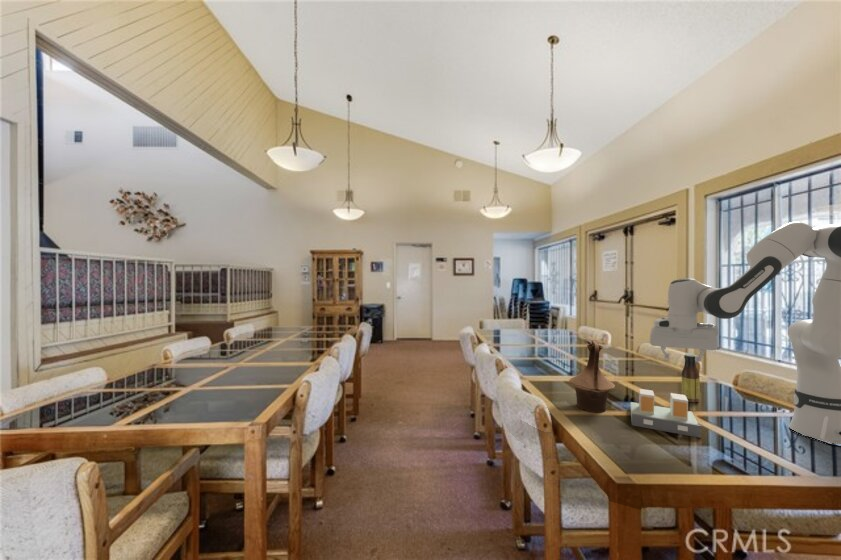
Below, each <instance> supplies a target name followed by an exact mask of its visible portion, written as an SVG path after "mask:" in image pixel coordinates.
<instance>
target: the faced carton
mask: <svg viewBox="0 0 841 560" xmlns="http://www.w3.org/2000/svg"><path fill="white" fill-rule="evenodd" d="M638 391H639V392H638V403H639V410H640V412H642V413H648V414H654V406H655V393H654V390H653V389H652V390H650V389H644V388H643V389H642V388H638Z"/></svg>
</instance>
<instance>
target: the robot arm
mask: <svg viewBox="0 0 841 560" xmlns="http://www.w3.org/2000/svg"><path fill="white" fill-rule="evenodd" d="M800 256H803V257H807V258H820V259H824V261H825V265H826V267H825V270H824V272H823V273H822V275H821V278H820V279H819V280H820V281H819V282H818V284H817V287H816V289H815V293H814V295H813V297H812V300H811V301H812V305H813V315H812V316H813V317H812V319H810V318H809V319H802V320H797V321H794V322H792V323H791V324H790V325H789V326H788V328H787V336H788V338H789V339H790V342H791V347H792V350H793V351H792V352H793V355H794V359H795V367H796V388H795V389H794V393H793V404H794V410H793V414H792V418H791V421H790V423H789V425H788V428H789V427H790V428H791V429H792V430H794V431H796V432H799V433H801V434H804V435H806V436H809V437H812V438H815V439H820V440H823V441H827V442H830V443H834V444H841V364H840V361H839V359H841V223H838V224H836V223H834V224H826V225H821V226H811V225H809V224H807V223H804V222H799V221H792V222H789V223H786V224H784V225H782V226H780V227H778V228H777V229H775V230H773V231H772V232H770V233H769V234H767V235H766V236H764V237H763V238H762V239H761V240H759V241H757V243H755V244H754V245H753V246H752V247H751V248H750V249H749V251H748V252H747V253H746V262H747V264H748V265H749V266H750V267H749V268H748V270H747V271H745V272H744V273H743V274H741V276H740V277H738V279H736V280H735V281H734V282H733V283H731V284H730V285H728V286H726V287H721V288H717V287H713V286H710V285H706V284H704V283H701V282H700V281H698V280H697V279H695V278H692V277H688V278H687V277H686V278H680V279H679V278H677V279H675V280H672V281H671V282H670V284H669V286H668V290H667V303H668V304H667V305H668V312H667V316H665V317H660V318H657V319H654V320H653V326H652V327H651V329H650V334H649V344H650V345H651V346H652V347H654V346H655V347H660V350H661V351H662V353H663V359H666V360H667V359H668V360H669V359H670V353H669V352H668V353H667V352H666V351H665V350H666V348H677V349H678V348H679V349H690V350H691V349H693V350H698V351H699V353H698V354H697V355H695V362H698V363H699V362H702V357H703V356H704V355H705V353H706V351H716V350H717V349H718V348H719V344H718V337H717V336H718V335H719V328H718V327H717V325H714V324H713V323H701V322H698V314H699V313H703V314H707V315H711V316H713V317H715V318H719V319H724V320H727V319H728V320H730V319H734V318H736V317H737V316H739V315H740V314H741V313H742V312H743V311H744V310H745V307H746V305H747V304H748V302H749V301H750V300H751V298H752V297H753V296H755V295H756V294H757V293H758V292H759V291H760V290H761V289H763V288H764V287H765V286H766V285H767V284H768V283H769V282H771V281H772V280H773V279H774V278H775V277H776V276H777V275H778V274H779V273H780V272H781V271H782V270H783V269H785V268H786V267H787V266H789V265H790V264H791V263H793V262H794V261H796V260H797V259H798V258H799V257H800ZM792 430H791V431H792ZM794 431H793V432H794ZM796 432H795V433H796ZM812 438H811V439H812ZM815 439H814V440H815ZM836 442H837V443H836Z"/></svg>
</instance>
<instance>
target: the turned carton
mask: <svg viewBox="0 0 841 560" xmlns="http://www.w3.org/2000/svg"><path fill="white" fill-rule="evenodd" d="M669 396H670V397H669V398H670V399H669V404H670V405H669V408H670V412H671V415H672V418H678V419H684V420H688V411H689V402H688V399H687V398H686V396H685V395H682V393H681V394H680V393H673V392H670V395H669Z"/></svg>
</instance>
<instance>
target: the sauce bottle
mask: <svg viewBox="0 0 841 560" xmlns="http://www.w3.org/2000/svg"><path fill="white" fill-rule="evenodd" d="M695 356H696V355H694V354H690V353H687V354H684V355H683V358H684V366H683V369H682V371H681V395H685V396H686V398H687V399H688V403H694V402H697V403H699V402H700V398H701V394H700V393H701V392H700V391H701V390H700V385H701V384H700V372H699V370H698V367H697V366H696V361H695Z"/></svg>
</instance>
